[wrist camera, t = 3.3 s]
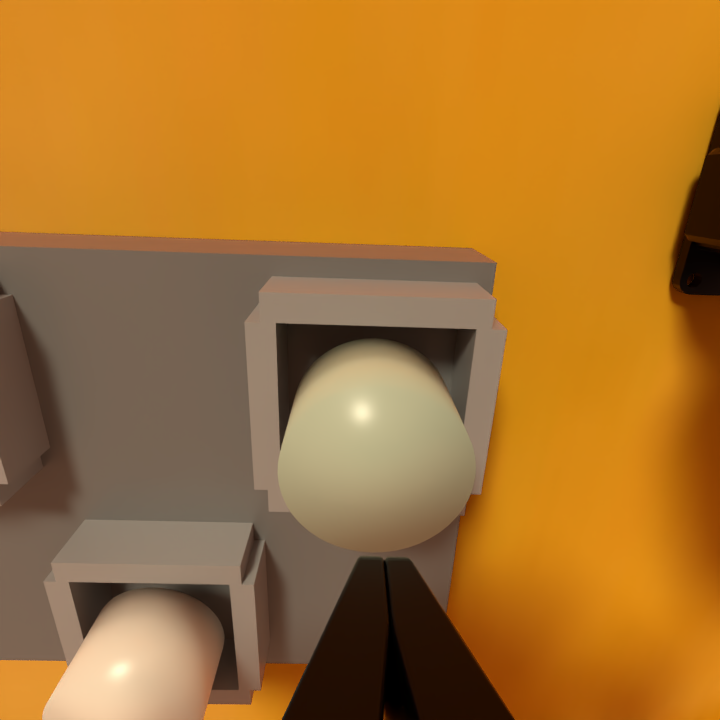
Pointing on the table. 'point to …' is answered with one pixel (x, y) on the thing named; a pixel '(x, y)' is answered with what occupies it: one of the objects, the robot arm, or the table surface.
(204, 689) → the cream button
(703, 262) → the robot arm
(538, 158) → the table surface
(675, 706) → the table surface
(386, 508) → the sage button
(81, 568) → the control panel
